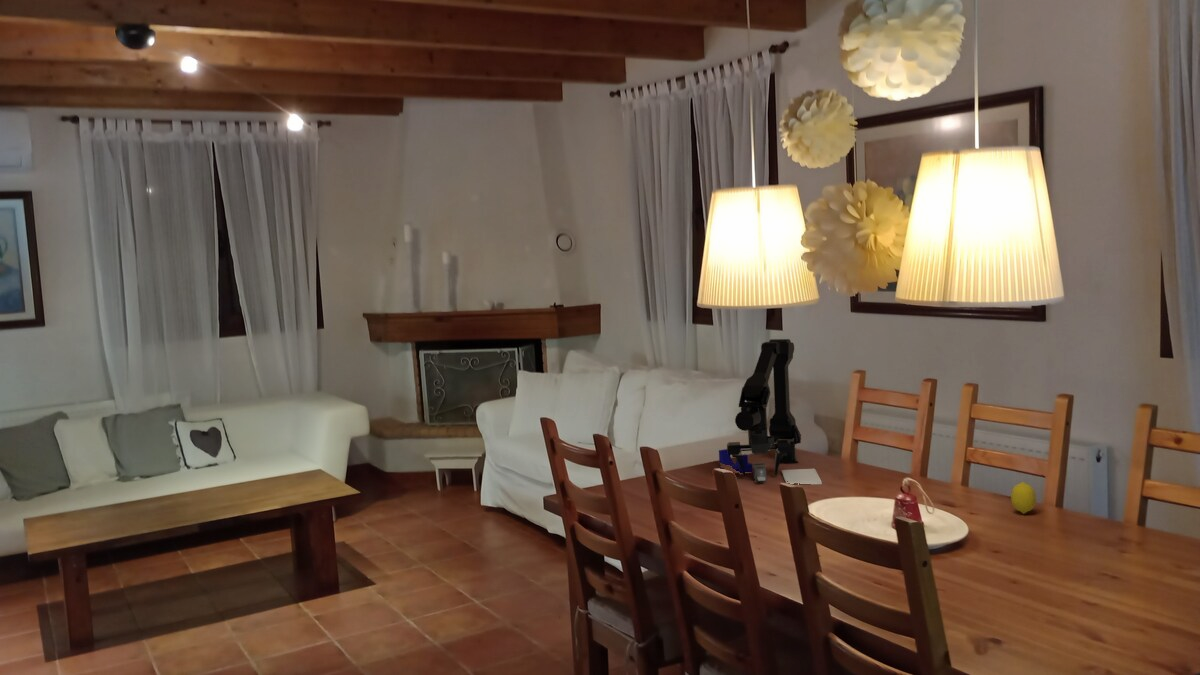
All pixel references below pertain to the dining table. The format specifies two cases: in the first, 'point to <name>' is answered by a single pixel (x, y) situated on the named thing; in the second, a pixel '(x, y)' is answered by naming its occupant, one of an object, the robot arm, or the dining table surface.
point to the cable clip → (727, 460)
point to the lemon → (1023, 497)
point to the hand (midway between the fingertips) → (760, 475)
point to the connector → (759, 472)
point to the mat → (801, 476)
